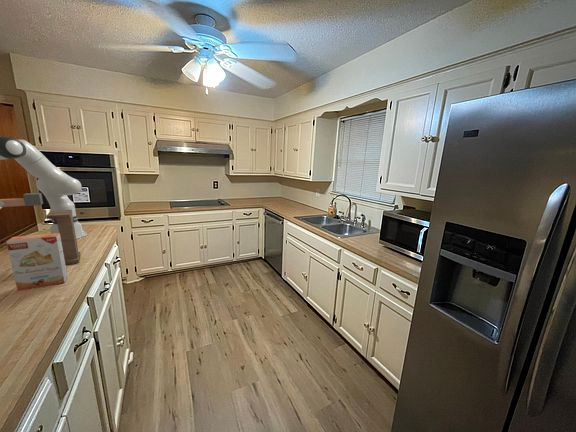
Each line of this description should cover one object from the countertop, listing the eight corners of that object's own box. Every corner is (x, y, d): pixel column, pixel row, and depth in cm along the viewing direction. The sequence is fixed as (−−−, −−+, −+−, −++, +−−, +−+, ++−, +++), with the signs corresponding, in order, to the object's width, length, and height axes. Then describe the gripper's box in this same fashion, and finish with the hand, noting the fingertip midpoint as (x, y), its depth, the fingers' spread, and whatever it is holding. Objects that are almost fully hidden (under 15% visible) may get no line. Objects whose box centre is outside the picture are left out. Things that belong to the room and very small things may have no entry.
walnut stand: (59, 258, 125) (50, 211, 119) (80, 255, 130) (73, 209, 124) (55, 267, 115) (46, 215, 110) (79, 263, 120) (70, 214, 115)
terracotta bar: (-9, 206, 105) (-12, 194, 104) (43, 203, 114) (41, 192, 113) (-13, 208, 101) (-16, 196, 100) (41, 205, 111) (38, 194, 109)
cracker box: (16, 292, 94) (4, 240, 89) (23, 285, 99) (11, 236, 94) (64, 284, 101) (56, 236, 96) (68, 277, 106) (60, 232, 101)
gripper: (-55, 219, 90) (-11, 199, 96) (-32, 209, 106) (5, 192, 112) (-38, 232, 93) (4, 212, 99) (-18, 221, 109) (17, 203, 115)
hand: (5, 201), depth 105 cm, fingers closed on terracotta bar, 3 cm apart
